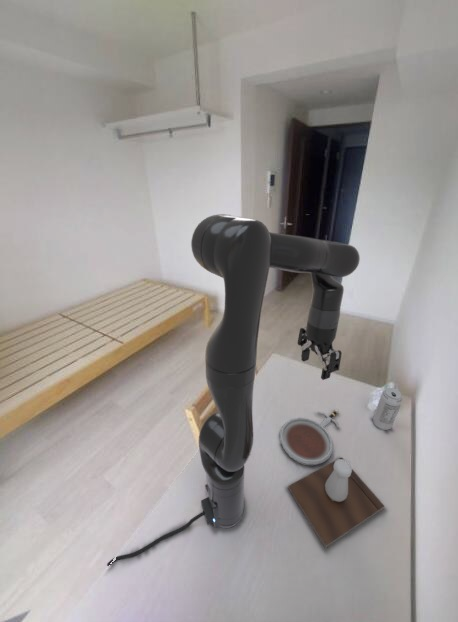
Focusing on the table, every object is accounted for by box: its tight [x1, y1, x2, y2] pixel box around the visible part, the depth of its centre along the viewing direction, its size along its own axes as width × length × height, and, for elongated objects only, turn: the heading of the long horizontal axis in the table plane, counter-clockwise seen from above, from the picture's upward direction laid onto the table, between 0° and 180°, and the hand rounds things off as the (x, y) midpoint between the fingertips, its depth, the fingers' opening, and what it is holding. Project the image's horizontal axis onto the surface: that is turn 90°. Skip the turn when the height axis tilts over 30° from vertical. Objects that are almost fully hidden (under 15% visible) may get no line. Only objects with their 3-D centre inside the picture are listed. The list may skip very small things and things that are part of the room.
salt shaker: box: [325, 458, 353, 502], centre depth 71 cm, size 6×6×13 cm
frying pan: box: [279, 409, 340, 467], centre depth 92 cm, size 17×3×28 cm
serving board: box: [287, 457, 385, 549], centre depth 74 cm, size 20×15×2 cm
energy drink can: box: [372, 387, 403, 431], centre depth 92 cm, size 6×6×15 cm
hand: (314, 368), depth 77 cm, fingers open, 8 cm apart
